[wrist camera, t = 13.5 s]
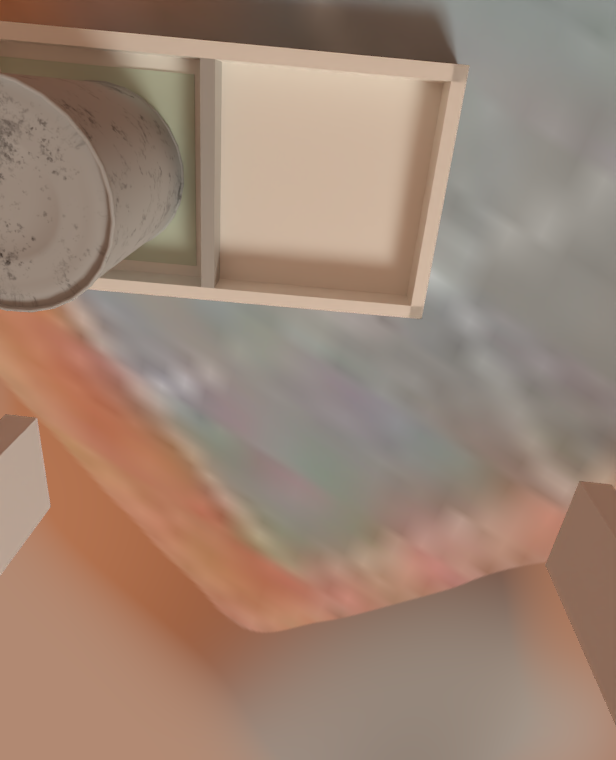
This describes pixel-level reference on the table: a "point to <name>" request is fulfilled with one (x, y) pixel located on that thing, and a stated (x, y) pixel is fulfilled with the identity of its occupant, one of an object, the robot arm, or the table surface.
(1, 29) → the tray
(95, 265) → the white speckled round cylinder
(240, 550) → the table surface
